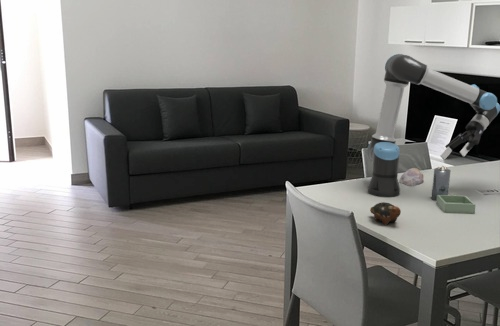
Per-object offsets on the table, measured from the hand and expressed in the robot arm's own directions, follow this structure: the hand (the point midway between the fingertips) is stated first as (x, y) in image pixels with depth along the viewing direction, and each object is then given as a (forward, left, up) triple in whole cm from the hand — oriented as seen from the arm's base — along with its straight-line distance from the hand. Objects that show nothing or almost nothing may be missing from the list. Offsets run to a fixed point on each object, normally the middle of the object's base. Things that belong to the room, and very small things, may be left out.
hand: (451, 156), depth 247 cm
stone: (-12, +23, -20) cm, 32 cm away
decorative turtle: (-37, -40, -19) cm, 57 cm away
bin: (-3, -20, -19) cm, 27 cm away
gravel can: (-6, -7, -19) cm, 21 cm away
